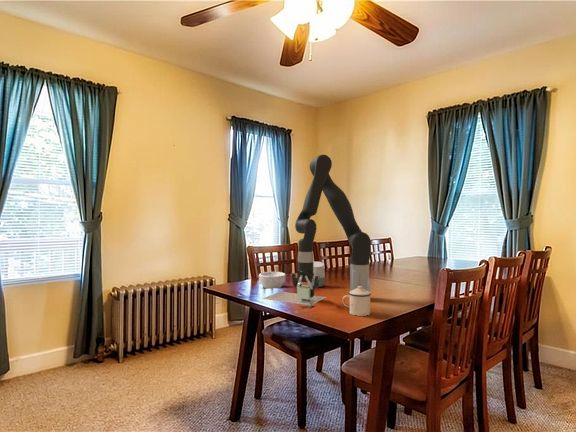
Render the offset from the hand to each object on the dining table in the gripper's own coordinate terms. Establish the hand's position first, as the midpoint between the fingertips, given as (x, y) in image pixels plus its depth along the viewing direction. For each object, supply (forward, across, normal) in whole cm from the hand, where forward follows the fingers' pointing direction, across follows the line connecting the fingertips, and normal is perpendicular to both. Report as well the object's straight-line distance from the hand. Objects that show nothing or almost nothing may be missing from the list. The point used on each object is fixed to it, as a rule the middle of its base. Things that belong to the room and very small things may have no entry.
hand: (305, 296), depth 173 cm
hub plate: (+3, +6, 0) cm, 7 cm away
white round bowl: (+3, +32, -22) cm, 39 cm away
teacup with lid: (+3, -27, +6) cm, 28 cm away
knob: (+1, 0, 0) cm, 1 cm away
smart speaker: (+3, +11, -37) cm, 39 cm away
